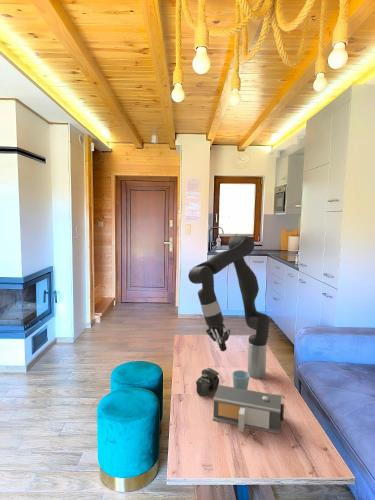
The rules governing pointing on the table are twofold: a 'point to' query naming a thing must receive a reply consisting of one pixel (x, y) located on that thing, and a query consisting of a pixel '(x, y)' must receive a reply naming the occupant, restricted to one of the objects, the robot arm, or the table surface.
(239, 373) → the cup
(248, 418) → the side door
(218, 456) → the table surface
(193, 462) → the table surface
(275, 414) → the grey box
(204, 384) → the camera
